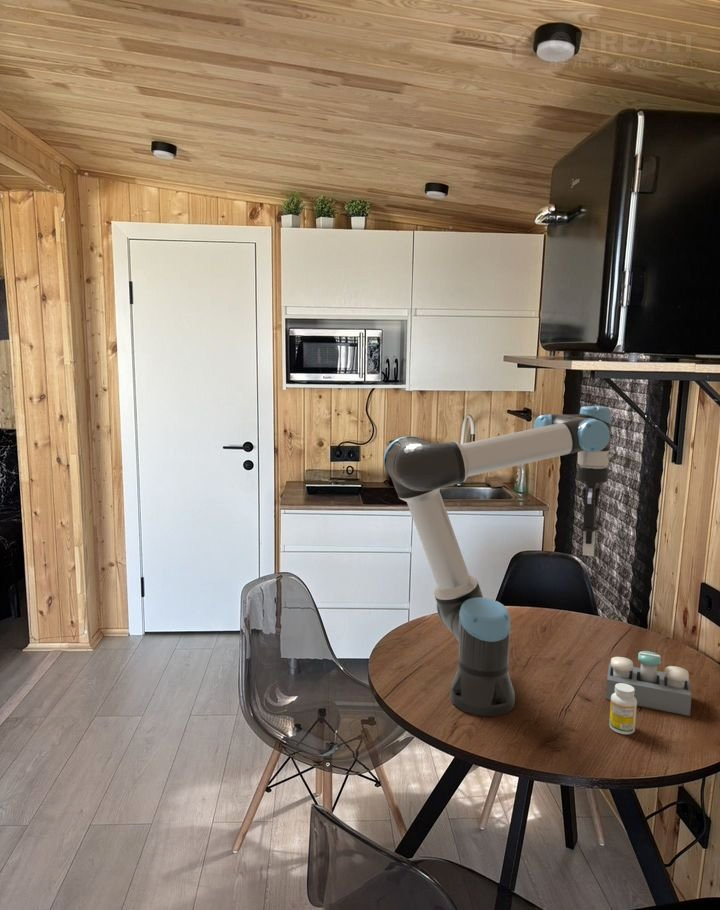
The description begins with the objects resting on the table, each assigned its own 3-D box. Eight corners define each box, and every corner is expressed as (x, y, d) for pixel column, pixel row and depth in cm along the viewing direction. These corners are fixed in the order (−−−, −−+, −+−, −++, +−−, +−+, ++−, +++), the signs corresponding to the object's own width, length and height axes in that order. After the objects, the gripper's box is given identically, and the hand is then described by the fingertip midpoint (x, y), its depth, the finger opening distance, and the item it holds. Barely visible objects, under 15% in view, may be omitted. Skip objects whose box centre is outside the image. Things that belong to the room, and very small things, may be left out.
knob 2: (687, 703, 147) (689, 677, 146) (663, 699, 149) (665, 673, 148) (686, 693, 152) (688, 668, 151) (663, 689, 154) (664, 664, 153)
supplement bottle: (627, 738, 136) (630, 696, 135) (604, 727, 140) (606, 686, 139) (639, 729, 139) (642, 688, 138) (616, 719, 144) (619, 679, 142)
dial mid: (659, 687, 149) (661, 660, 148) (636, 683, 151) (638, 656, 150) (659, 678, 154) (661, 652, 153) (636, 674, 156) (638, 648, 155)
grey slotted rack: (689, 716, 145) (691, 695, 144) (605, 699, 152) (607, 679, 152) (687, 696, 154) (688, 676, 153) (608, 680, 161) (609, 662, 161)
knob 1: (631, 692, 152) (632, 667, 151) (609, 688, 154) (610, 663, 153) (631, 683, 157) (633, 659, 156) (610, 679, 159) (611, 655, 158)
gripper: (606, 470, 156) (601, 563, 159) (609, 463, 168) (605, 550, 171) (574, 468, 159) (570, 559, 162) (580, 462, 171) (575, 547, 174)
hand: (588, 554), depth 166 cm, fingers closed
